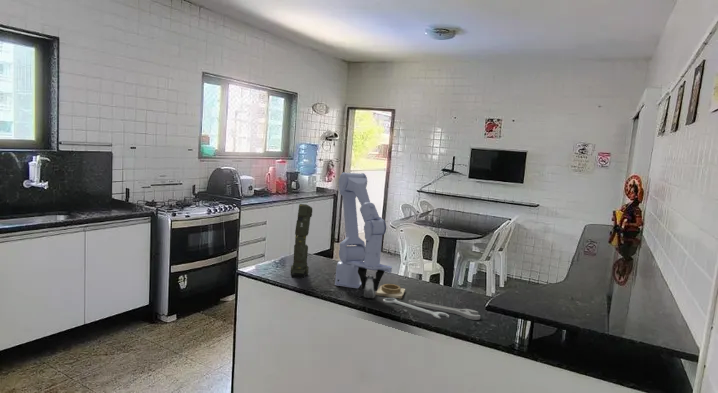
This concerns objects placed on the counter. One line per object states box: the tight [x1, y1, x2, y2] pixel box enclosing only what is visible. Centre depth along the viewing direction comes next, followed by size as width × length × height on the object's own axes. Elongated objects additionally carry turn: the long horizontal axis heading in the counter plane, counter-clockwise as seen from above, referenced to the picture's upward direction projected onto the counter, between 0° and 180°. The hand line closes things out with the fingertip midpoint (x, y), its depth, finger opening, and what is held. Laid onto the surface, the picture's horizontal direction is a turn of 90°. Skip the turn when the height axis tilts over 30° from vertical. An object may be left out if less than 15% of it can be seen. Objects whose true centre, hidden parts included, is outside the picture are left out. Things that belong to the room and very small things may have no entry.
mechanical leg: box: [290, 203, 313, 279], centre depth 189 cm, size 14×7×30 cm, turn 179°
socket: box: [375, 283, 406, 300], centre depth 174 cm, size 10×10×2 cm
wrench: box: [382, 297, 450, 320], centre depth 159 cm, size 25×2×5 cm
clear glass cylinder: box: [363, 274, 376, 299], centre depth 166 cm, size 4×4×8 cm
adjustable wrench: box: [408, 299, 481, 321], centre depth 160 cm, size 25×6×2 cm, turn 62°
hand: (369, 289), depth 166 cm, fingers closed on clear glass cylinder, 4 cm apart
